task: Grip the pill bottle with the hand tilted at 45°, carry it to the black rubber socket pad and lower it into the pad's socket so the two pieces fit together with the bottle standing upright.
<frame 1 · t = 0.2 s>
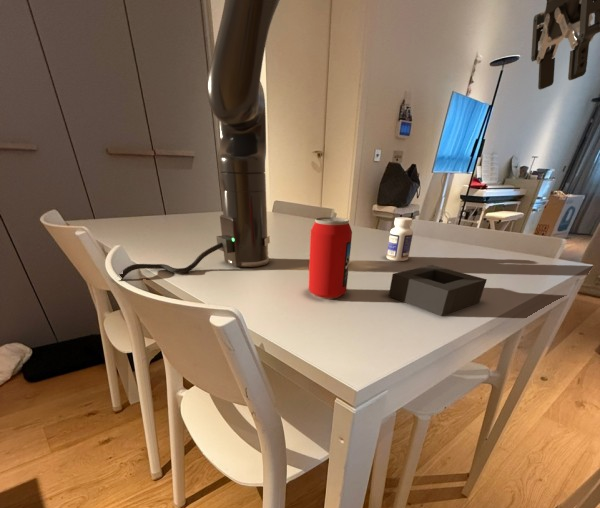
hand: (560, 83, 57), 31 cm above the table, tool tilted 20°, fingers open, 8 cm apart
beverage can: (327, 295, 61), on the table
socket pad: (433, 299, 59), on the table
pill bottle: (396, 259, 83), on the table
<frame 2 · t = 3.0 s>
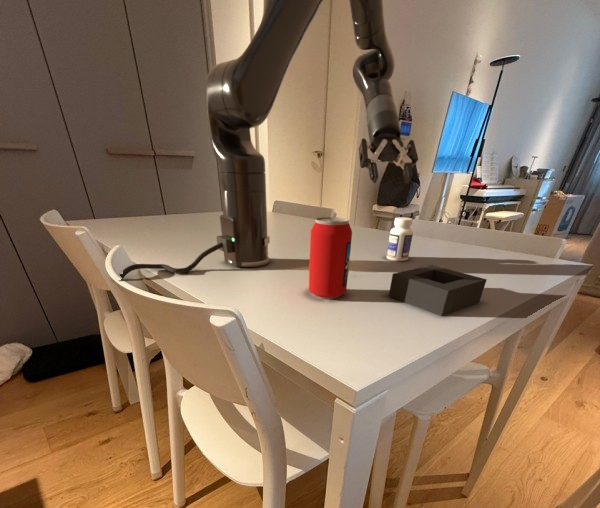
hand: (392, 180, 82), 16 cm above the table, tool tilted 45°, fingers open, 8 cm apart
nothing on the table moved.
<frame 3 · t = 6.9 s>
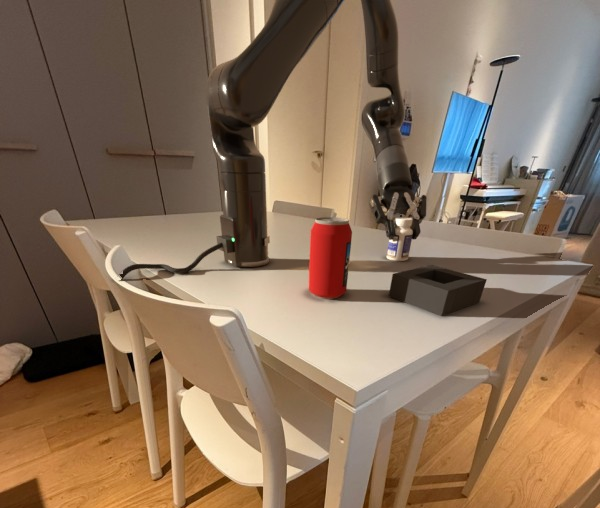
hand: (404, 237, 79), 5 cm above the table, tool tilted 45°, fingers closed on pill bottle, 5 cm apart
pill bottle: (396, 259, 83), on the table, touching gripper
everything else where it was.
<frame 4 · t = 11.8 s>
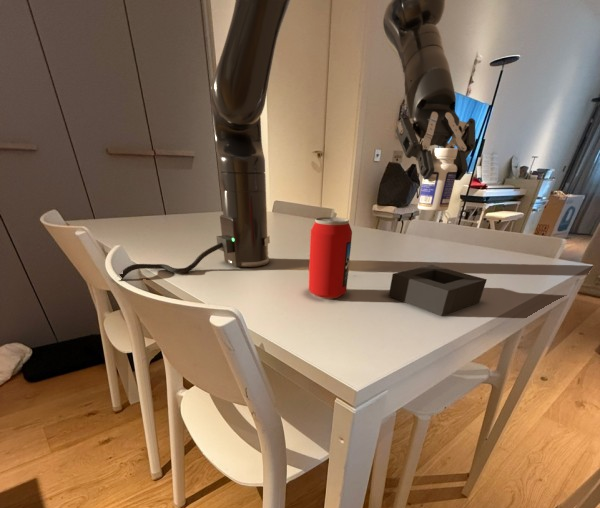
hand: (445, 175, 56), 18 cm above the table, tool tilted 45°, fingers closed on pill bottle, 5 cm apart
pill bottle: (431, 210, 61), point 13 cm above the table, touching gripper
everything else where it was.
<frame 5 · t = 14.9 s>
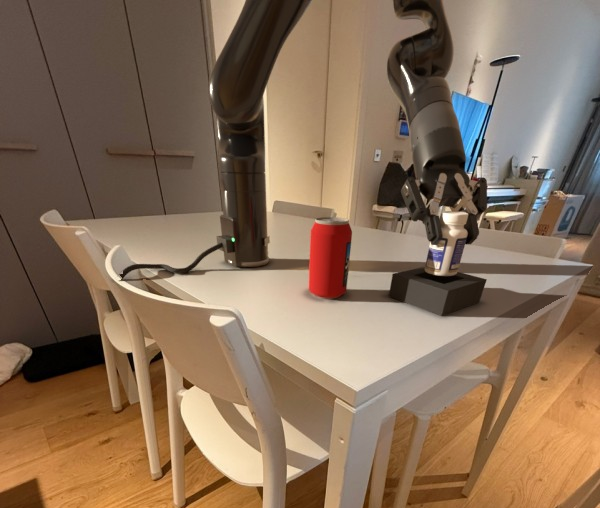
hand: (454, 241, 52), 10 cm above the table, tool tilted 45°, fingers closed on pill bottle, 5 cm apart
pill bottle: (439, 273, 57), point 4 cm above the table, touching gripper
everything else where it was.
when the fingers open (5 cm above the table, at t = 17.0 s): pill bottle stays where it is, resting in socket pad.
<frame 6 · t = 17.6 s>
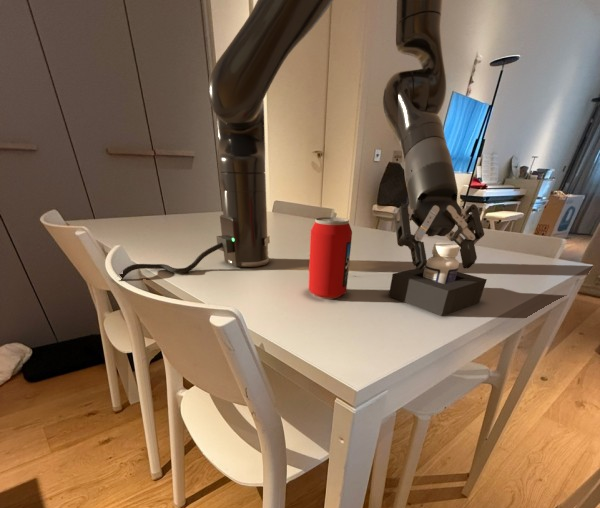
hand: (446, 266, 55), 6 cm above the table, tool tilted 45°, fingers open, 8 cm apart
pill bottle: (433, 300, 59), resting in socket pad
everything else where it was.
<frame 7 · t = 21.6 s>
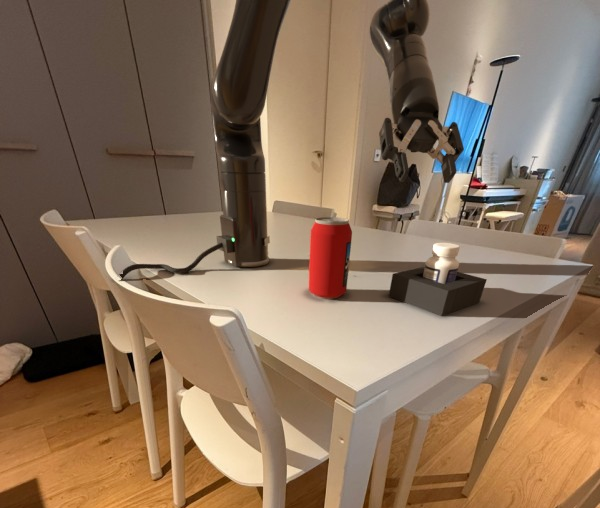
hand: (427, 178, 58), 17 cm above the table, tool tilted 45°, fingers open, 8 cm apart
nothing on the table moved.
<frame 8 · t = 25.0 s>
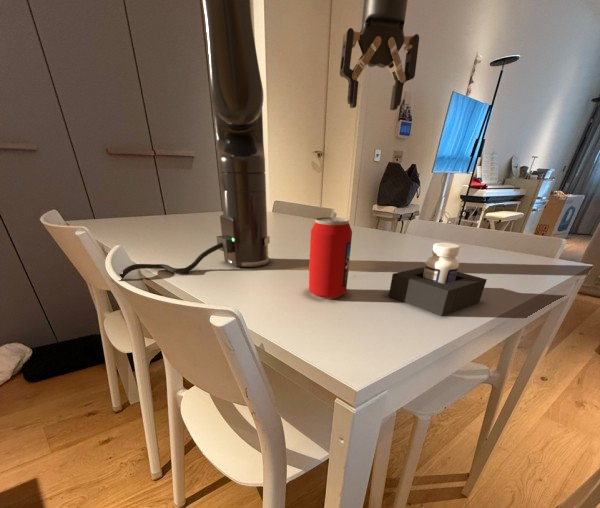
hand: (373, 108, 67), 28 cm above the table, tool pointing down, fingers open, 8 cm apart
nothing on the table moved.
at the end: pill bottle 0.2 cm off-centre in the socket pad, point 0.0 cm above the socket pad's base; pill bottle tilted 0°; the gripper is holding nothing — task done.
